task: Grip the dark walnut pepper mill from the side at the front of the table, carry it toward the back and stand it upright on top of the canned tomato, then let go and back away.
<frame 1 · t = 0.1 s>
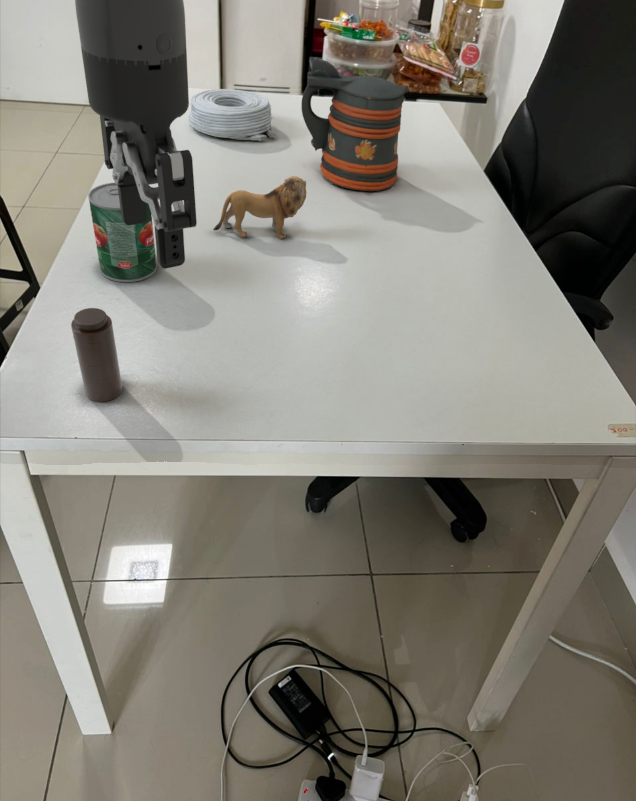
hand: (152, 243, 58), 20 cm above the table, tool pointing down, fingers open, 8 cm apart
pepper mill: (104, 390, 72), on the table
beer stein: (346, 177, 123), on the table
canned tomato: (128, 269, 92), on the table
cable: (230, 128, 138), on the table
lion figurine: (262, 232, 104), on the table
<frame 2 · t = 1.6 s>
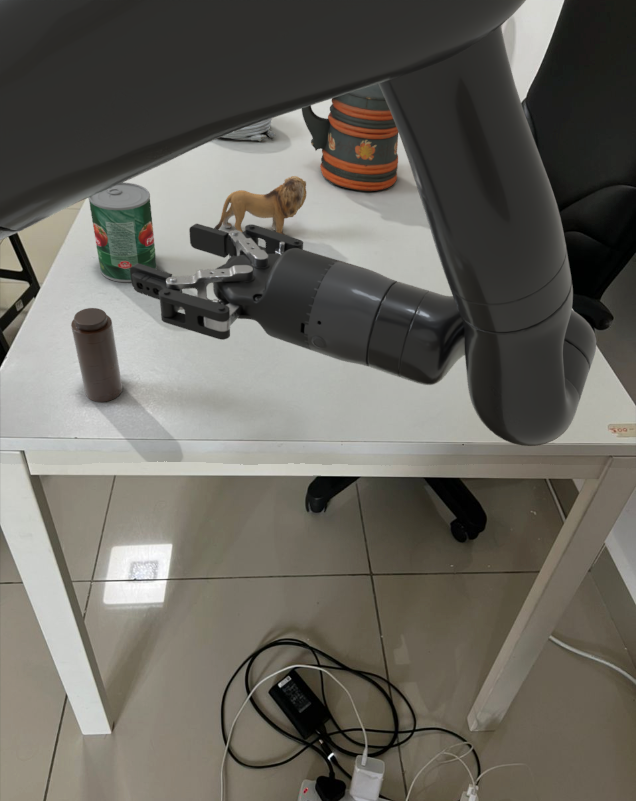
hand: (164, 254, 56), 20 cm above the table, tool horizontal, fingers open, 8 cm apart
nothing on the table moved.
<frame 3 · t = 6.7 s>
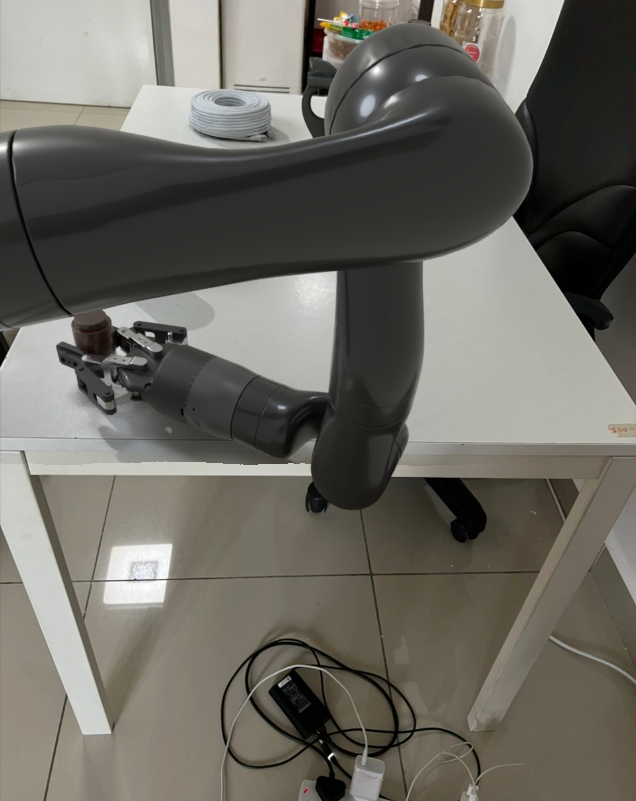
hand: (75, 339, 69), 6 cm above the table, tool horizontal, fingers closed on pepper mill, 4 cm apart
pepper mill: (103, 390, 72), on the table, touching gripper
everything else where it was.
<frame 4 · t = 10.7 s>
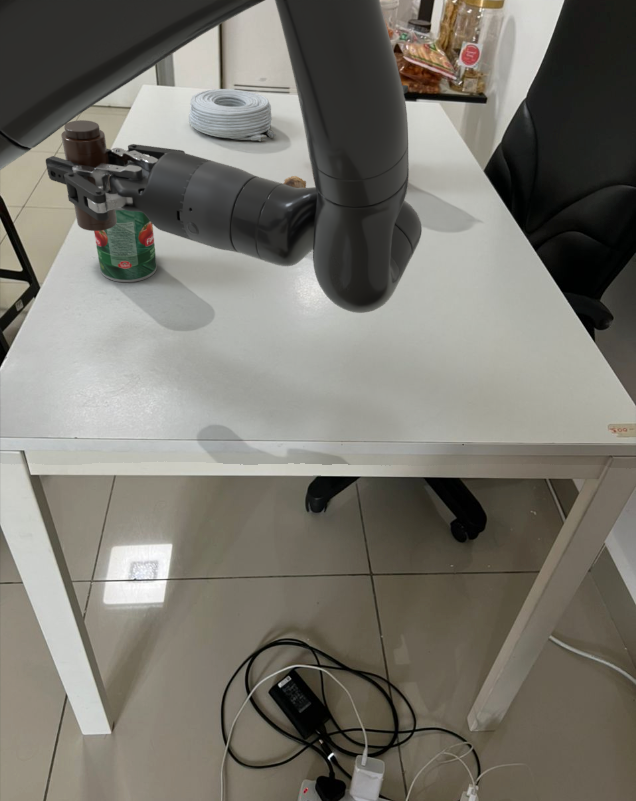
hand: (66, 160, 65), 22 cm above the table, tool horizontal, fingers closed on pepper mill, 4 cm apart
pepper mill: (97, 222, 68), point 16 cm above the table, touching gripper
everything else where it was.
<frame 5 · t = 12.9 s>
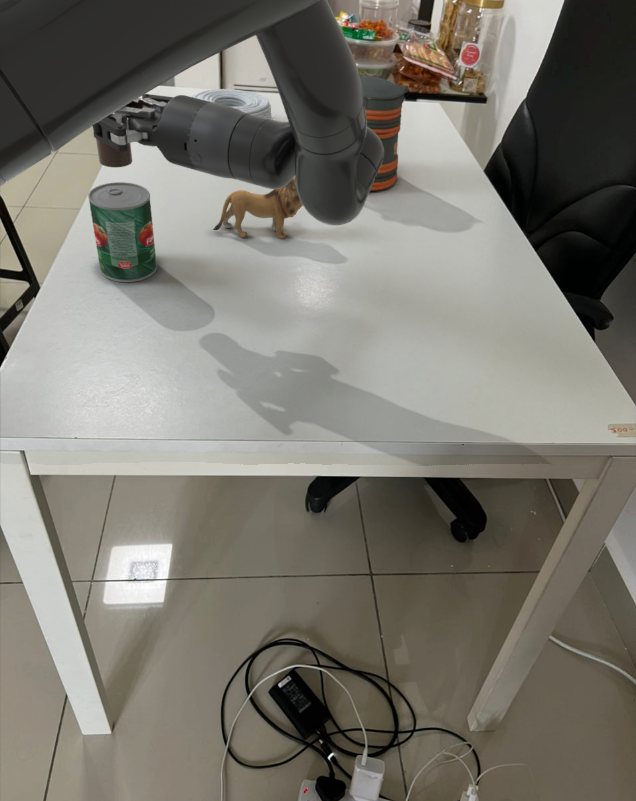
hand: (90, 106, 78), 22 cm above the table, tool horizontal, fingers closed on pepper mill, 4 cm apart
pepper mill: (116, 161, 81), point 16 cm above the table, touching gripper
everything else where it was.
when the fingers open (17 cm above the table, at t = 14.7 s): pepper mill stays where it is, resting on canned tomato.
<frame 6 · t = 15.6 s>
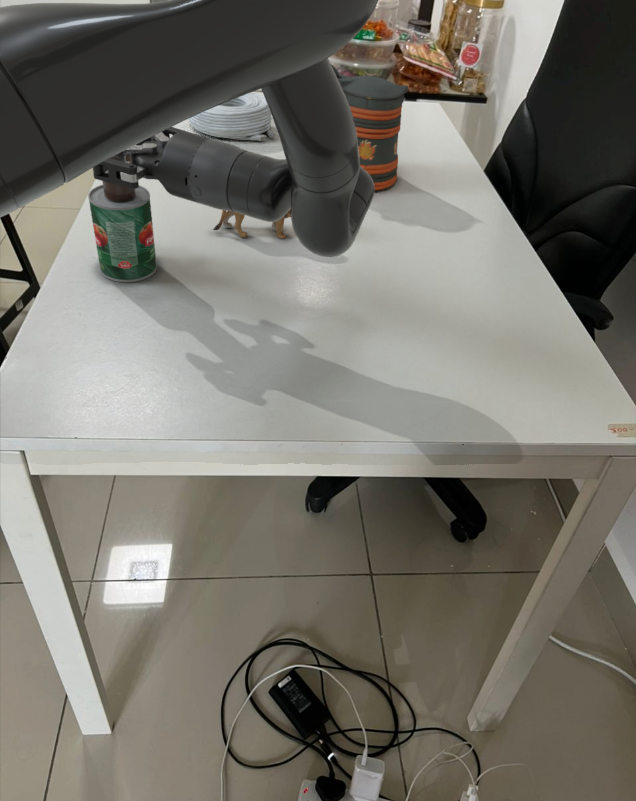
hand: (100, 141, 81), 18 cm above the table, tool horizontal, fingers open, 8 cm apart
pepper mill: (120, 194, 85), point 11 cm above the table, touching canned tomato
canned tomato: (128, 269, 92), on the table, touching pepper mill
everything else where it was.
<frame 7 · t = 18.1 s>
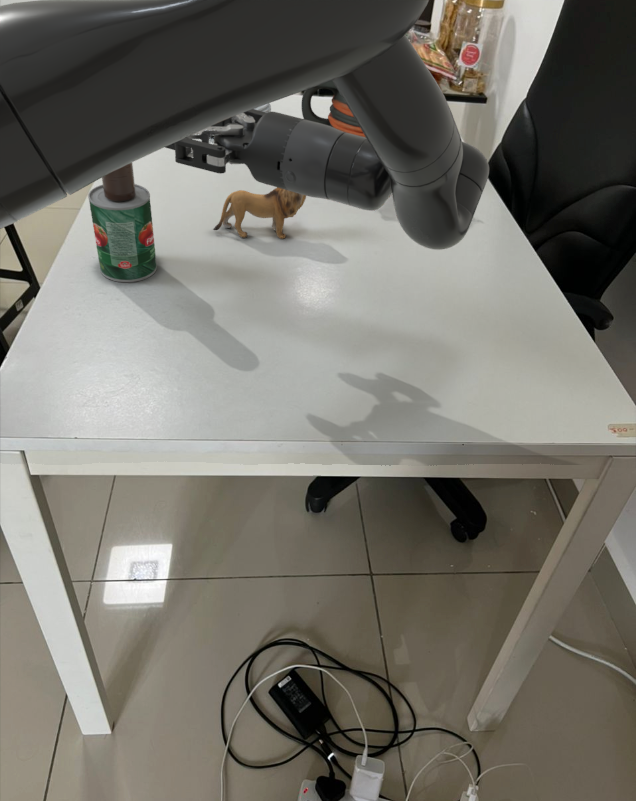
hand: (176, 123, 75), 22 cm above the table, tool horizontal, fingers open, 8 cm apart
nothing on the table moved.
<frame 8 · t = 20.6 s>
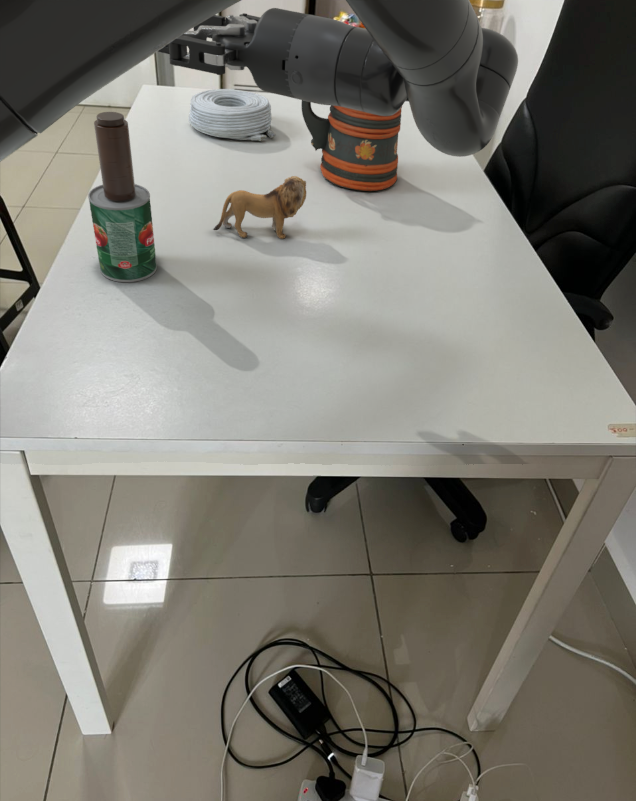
hand: (171, 29, 68), 32 cm above the table, tool horizontal, fingers open, 8 cm apart
nothing on the table moved.
at the end: pepper mill 0.1 cm off-centre on the canned tomato, point 11.2 cm above the canned tomato's base; pepper mill tilted 0°; the gripper is holding nothing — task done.
